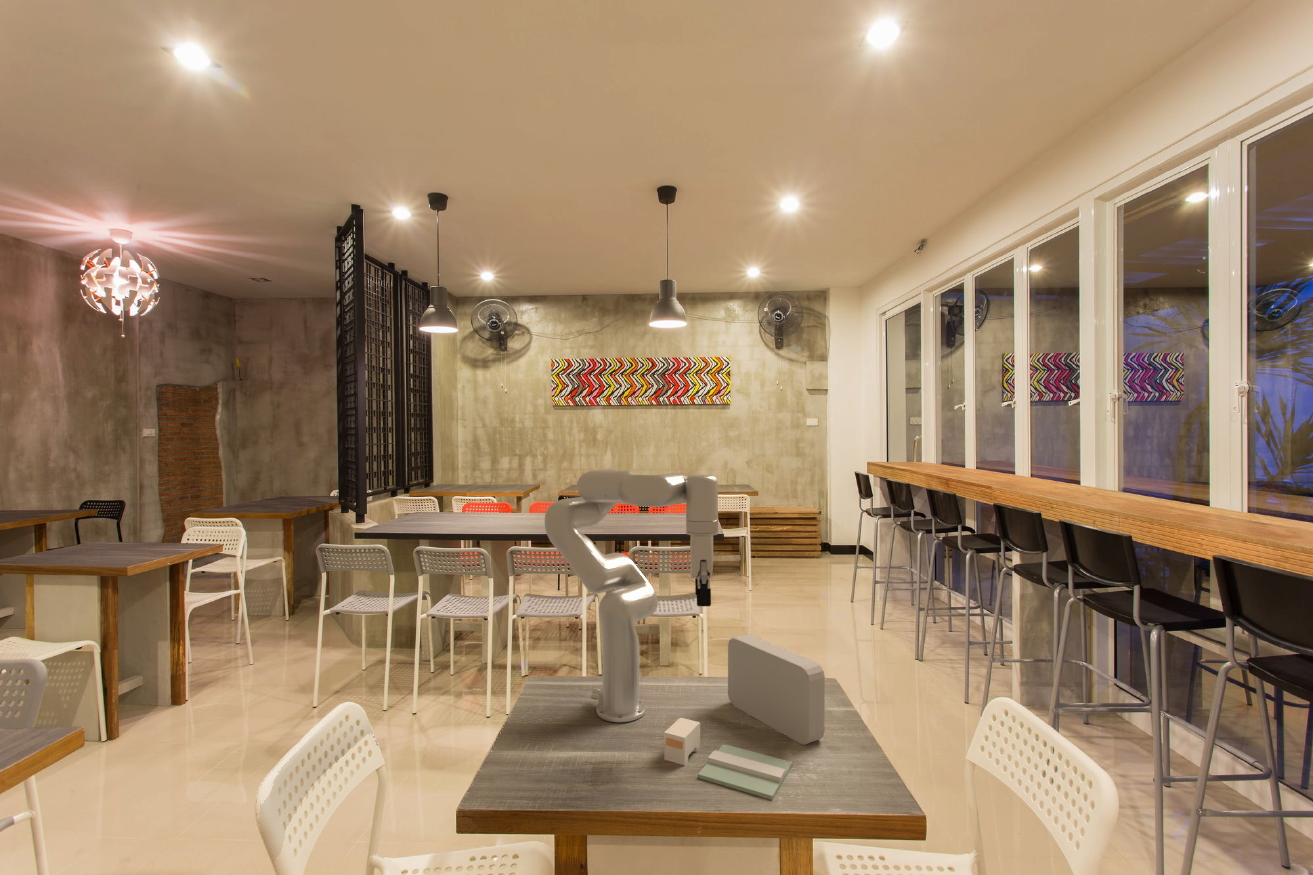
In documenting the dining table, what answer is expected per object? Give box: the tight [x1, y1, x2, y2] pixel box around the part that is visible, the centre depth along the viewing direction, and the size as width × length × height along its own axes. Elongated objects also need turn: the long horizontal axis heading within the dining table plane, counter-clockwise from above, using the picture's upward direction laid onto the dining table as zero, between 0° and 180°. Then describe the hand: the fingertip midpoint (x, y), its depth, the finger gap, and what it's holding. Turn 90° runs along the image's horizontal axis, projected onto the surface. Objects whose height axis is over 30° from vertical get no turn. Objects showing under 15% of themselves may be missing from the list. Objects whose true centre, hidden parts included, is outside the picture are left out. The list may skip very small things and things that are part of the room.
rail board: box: [697, 743, 793, 801], centre depth 128 cm, size 16×14×2 cm
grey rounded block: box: [727, 634, 826, 746], centre depth 151 cm, size 29×8×18 cm, turn 33°
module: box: [663, 717, 701, 766], centre depth 135 cm, size 5×8×6 cm, turn 152°
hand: (702, 600), depth 141 cm, fingers open, 9 cm apart
